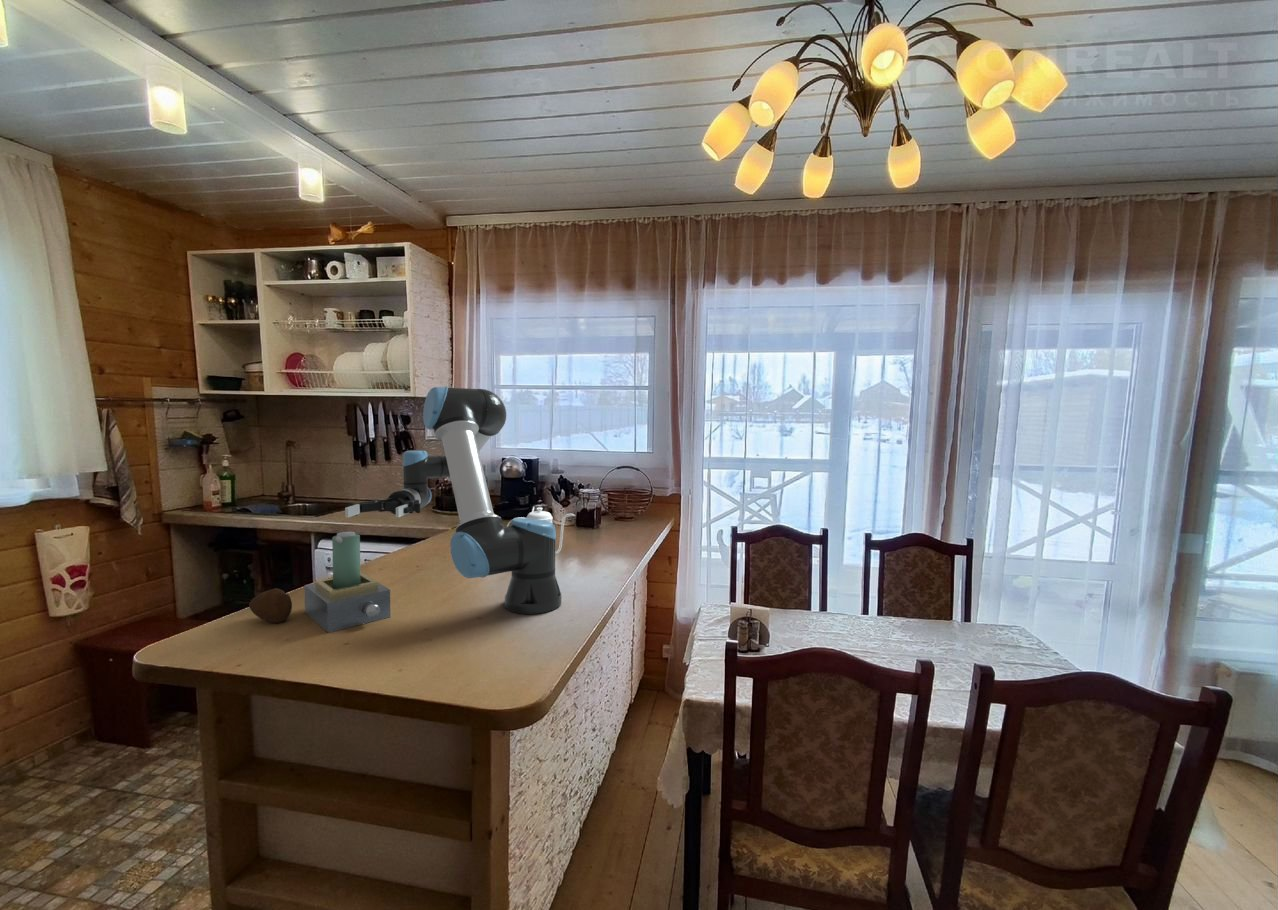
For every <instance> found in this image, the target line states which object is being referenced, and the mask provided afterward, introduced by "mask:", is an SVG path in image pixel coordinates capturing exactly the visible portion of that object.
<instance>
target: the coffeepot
mask: <svg viewBox="0 0 1278 910" xmlns="http://www.w3.org/2000/svg"><path fill="white" fill-rule="evenodd" d="M543 509H544V508H543V507H537V508H536V511H531V512H529V513H528V514H527V516H526V517H524V516H523V517H522V516H521V517H519V516H518V517H514V518H513V519H516V518H529V519H538V520H544V521H548V522H551V523H552V524H553V519H554V517H553V516H552V514H551V513H550V512H548V511H545V510H543ZM569 517H576V515H575V514H574V513H566V514H564V515H563V517H562V519H561V524H560V535H559V536H560V537H559V544H558V545H559V546H558V549H557V550H556V552H555V555H556V554H558V553H560V552H561V550H562V547H563V537H564V528H565V527H564V525H565V520H566V518H569ZM513 519H510V521H509V522H508V523H507V524H506V527H507V526H510V524H511V522H512V520H513Z"/></svg>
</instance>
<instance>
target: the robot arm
mask: <svg viewBox="0 0 1278 910" xmlns="http://www.w3.org/2000/svg"><path fill="white" fill-rule="evenodd" d="M422 415H423V416H422V420H423V425H424V427H425V429H427V430H433V431H434V436H435V438H436V440H438V441H440V442H442V445H443V450H444V454H445V455H429V454H428V452H427V451H426V450H406V451H404V452H403V455H402V465H401V466H402V477H403V478H402V480H403V481H402V482H403V483H402V485H403V486H402V489H400V490H397V491H394V492H392V493H390V494H389V496H387V498H386V499H385V498H384V499H374V500H369V501H361V502H354V503H348V506H347V507H345V508H344V512H345V513H344V514H345V515H344V518H351V517H354V516H355V517H356V516H358V515H359V514H361V513H367V512H375V511H377V512H380V513H383V512H390V513H391V514H393V515H395V518H400V517H403V516H407V515H410V514H413V513H414V512H415V513H417V514H419V513H421V509H422V508H424V507H425V506H427V505H428V504H429V503H430V502H431V501H432V498H433V493H432V491H431V489H430V487H428V483H429V481H428V480H429V479H439V478H440V479H441V478H442V479H443V478H450V482H451V486H452V487H451V488H452V490H453V491H452V492H453V495H454V499H455V505H456V510H457V515H458V519H459V523H458V524H457V525H456V527H455V533H453V535H452V536H451V538H450V544H449V546H450V556H451V559H452V562H453V565H454V567H455V568H456V570H457V571H458V573H459V574H461V576H463V577H464V578H466V579H477V578H486V577H488V576H492V575H493V576H494V575H499V574H504V573H510V572H511V577H510V581H509V584H508V587H507V590H506V594H505V596H504V608H505V609H507V611H509V612H511V613H516V614H521V615H523V614H524V615H535V614H543V613H547V612H552V611H554V610H556V609H558V608H559V607H561V605H562V593H561V589H560V586H559V583H558V580H557V577H556V554H555V552H556V551H557V550H556V548H557V547H556V546H557V545H556V542H557V541H556V540H557V533H556V526H555V524H554V523H553V522H552V523H551V522H548V521H544V520H538V519H529V518H526V517H524V518H518V517H515V518H516V519H514V518H513V519H511V520H512V521H511V522H510V525H508V526H507V525H506V526H504V524H503V521H502V520H503V519H502V517H501V516H499V515H497V514H495V513H494V509H493V505H492V501H491V497H490V492H489V489H488V483H487V480H486V476H485V475H486V474H485V471H484V468H483V463H482V459H481V455H480V451H481V449H482V448H483V447H484V446H485V445H486V443H487V442H488V441H489V440H490V439H491V437H494V436H497V434H499V433H500V432H501V430H502V429H503V427H504V426H505V424H506V421H507V409H506V407H505V404H504V402H503V400H502V399H501V398H500V397H499V396H498V395H497V394H496V393H495V392H493V391H491V390H489V389H483V388H464V387H463V388H462V387H461V388H460V387H448V386H435V387H432V388H431V389H429V391H428V392H427V394H426V397H425V399H424V404H423V414H422ZM558 606H559V607H558ZM557 607H558V608H557ZM551 610H552V611H551Z"/></svg>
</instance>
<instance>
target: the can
mask: <svg viewBox="0 0 1278 910" xmlns="http://www.w3.org/2000/svg"><path fill="white" fill-rule="evenodd" d="M331 541H332V545H331V546H332V547H331V548H332V578H333V589H338V588H343V587H348V586H353V585H358V584H360V573H361V535H360V534H358V533H356V532H355V531H341V532H338V533H336V535H334V536H332V538H331Z"/></svg>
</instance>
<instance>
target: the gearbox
mask: <svg viewBox="0 0 1278 910" xmlns="http://www.w3.org/2000/svg"><path fill="white" fill-rule="evenodd" d="M304 613H305V614H306V615H307V616H309V617H310V618H311V619H312V620H313V621H314V622H315V621H316V622H317V623H318V624H317V623H316V622H315V623H316V624H317V625H318V626H319V627H321V628H322V629H323V630H324V631H325V630H326V631H327V632H330V633H333V631H334V632H337V630H338V631H341V630H345V628H346V629H348V628H349V627H350V628H354V627H357V626H356V625H358V626H361V625H364V624H363V623H365V624H369V623H373V622H376V621H380V620H381V621H382V620H385V619H388V618H391V589H389V588H388V587H387V586H384V585H383V584H381V583H380V582H378V581H377V580H375V579H374V578H372V577H370V576H368V575H367V574H365V573H363V572H360V584H358V585H353V586H348V587H343V588H338V589H333V577H331V578H327V579H321V580H316V581H315V582H314V583H309V584H304ZM360 624H361V625H360ZM353 626H354V627H353ZM326 631H325V632H326ZM327 632H326V633H327Z"/></svg>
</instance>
